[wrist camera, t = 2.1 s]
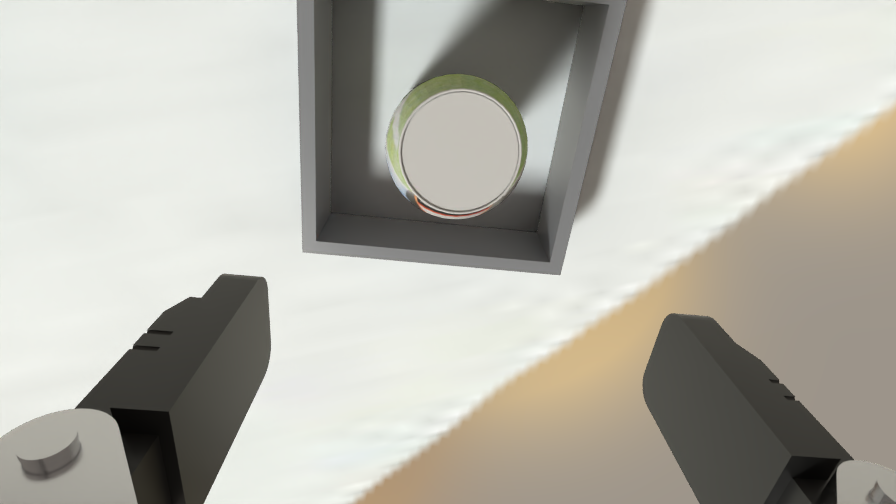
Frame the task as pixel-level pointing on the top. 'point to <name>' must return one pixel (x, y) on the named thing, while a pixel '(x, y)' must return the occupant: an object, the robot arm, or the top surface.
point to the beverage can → (456, 146)
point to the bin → (440, 239)
